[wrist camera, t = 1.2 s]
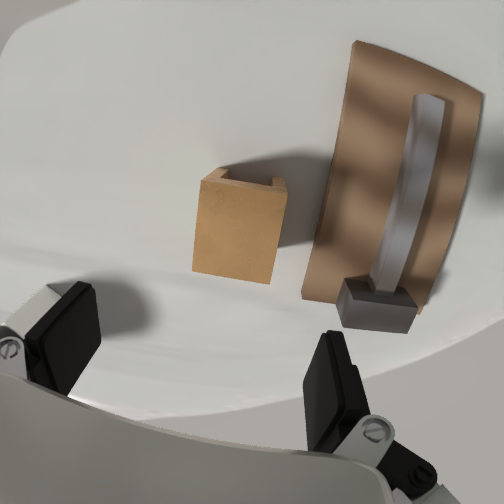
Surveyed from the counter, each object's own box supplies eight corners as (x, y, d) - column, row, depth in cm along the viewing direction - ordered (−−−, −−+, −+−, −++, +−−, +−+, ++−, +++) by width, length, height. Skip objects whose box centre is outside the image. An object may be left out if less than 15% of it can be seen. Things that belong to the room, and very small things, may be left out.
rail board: (352, 44, 22) (370, 27, 16) (473, 93, 22) (505, 92, 17) (301, 291, 31) (306, 322, 26) (415, 307, 31) (433, 335, 26)
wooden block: (217, 167, 27) (201, 180, 20) (283, 178, 27) (288, 194, 21) (208, 239, 30) (191, 271, 23) (269, 249, 30) (269, 284, 23)
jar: (85, 343, 37) (44, 402, 26) (44, 333, 37) (2, 384, 26) (68, 287, 33) (13, 343, 22) (26, 281, 34) (-27, 328, 23)
